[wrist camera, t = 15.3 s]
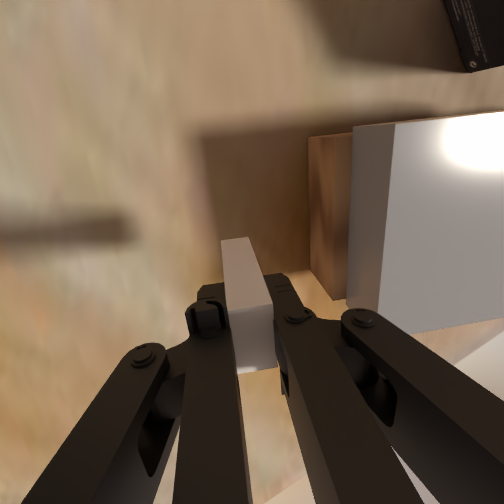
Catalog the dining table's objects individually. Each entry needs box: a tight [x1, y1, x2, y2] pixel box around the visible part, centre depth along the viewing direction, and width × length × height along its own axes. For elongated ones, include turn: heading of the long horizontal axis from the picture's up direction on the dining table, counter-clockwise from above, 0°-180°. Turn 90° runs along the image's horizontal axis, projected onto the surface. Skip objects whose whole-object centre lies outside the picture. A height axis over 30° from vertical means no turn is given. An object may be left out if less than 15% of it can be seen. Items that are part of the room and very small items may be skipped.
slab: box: [346, 110, 504, 335], centre depth 17 cm, size 12×14×4 cm
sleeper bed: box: [308, 132, 353, 301], centre depth 21 cm, size 11×19×5 cm, turn 96°
